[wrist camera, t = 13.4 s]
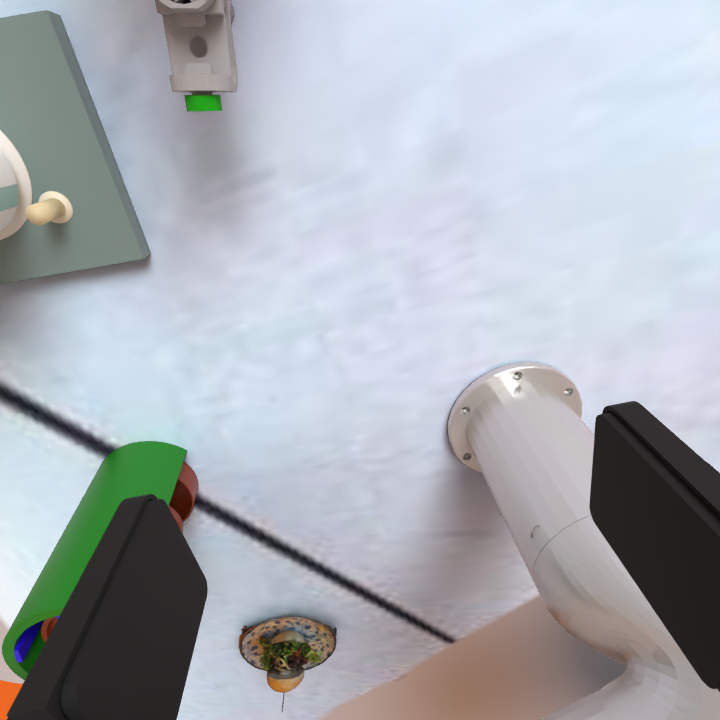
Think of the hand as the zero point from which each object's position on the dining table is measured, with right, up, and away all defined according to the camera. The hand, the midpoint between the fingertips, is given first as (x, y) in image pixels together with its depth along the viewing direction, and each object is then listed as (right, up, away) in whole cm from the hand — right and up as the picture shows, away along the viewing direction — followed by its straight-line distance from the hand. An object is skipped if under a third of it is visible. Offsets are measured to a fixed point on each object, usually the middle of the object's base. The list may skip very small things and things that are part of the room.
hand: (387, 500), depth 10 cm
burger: (-10, -31, +48) cm, 58 cm away
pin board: (-26, +15, +20) cm, 36 cm away
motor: (-21, -8, +33) cm, 40 cm away
